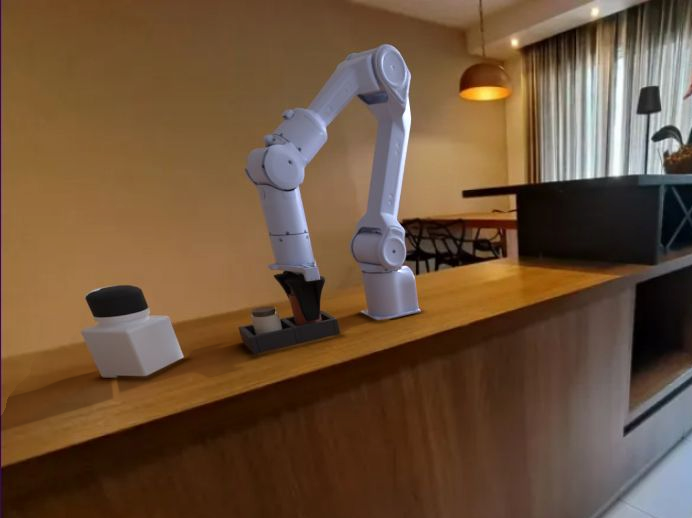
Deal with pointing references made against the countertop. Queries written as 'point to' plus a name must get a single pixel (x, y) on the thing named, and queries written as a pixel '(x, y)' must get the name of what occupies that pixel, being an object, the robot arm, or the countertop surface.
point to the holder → (289, 333)
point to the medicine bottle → (128, 333)
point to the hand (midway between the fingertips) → (307, 316)
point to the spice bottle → (299, 312)
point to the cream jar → (265, 320)
